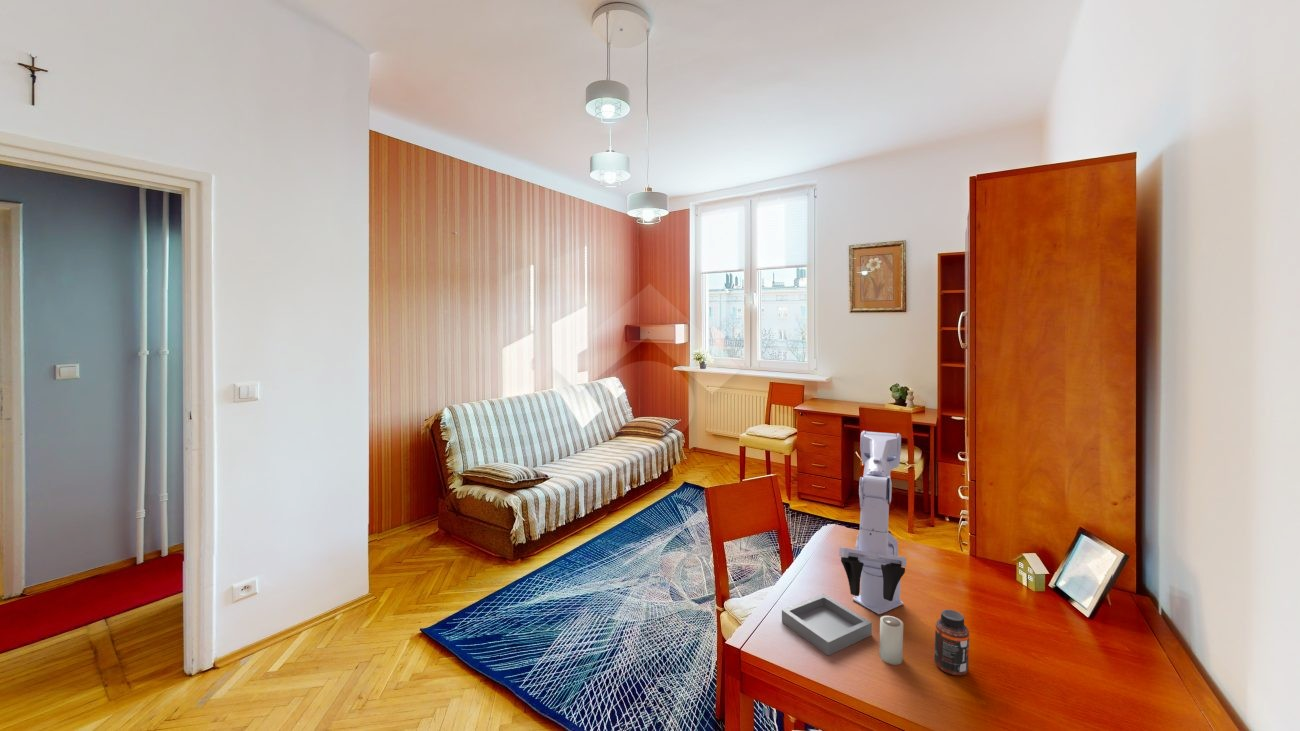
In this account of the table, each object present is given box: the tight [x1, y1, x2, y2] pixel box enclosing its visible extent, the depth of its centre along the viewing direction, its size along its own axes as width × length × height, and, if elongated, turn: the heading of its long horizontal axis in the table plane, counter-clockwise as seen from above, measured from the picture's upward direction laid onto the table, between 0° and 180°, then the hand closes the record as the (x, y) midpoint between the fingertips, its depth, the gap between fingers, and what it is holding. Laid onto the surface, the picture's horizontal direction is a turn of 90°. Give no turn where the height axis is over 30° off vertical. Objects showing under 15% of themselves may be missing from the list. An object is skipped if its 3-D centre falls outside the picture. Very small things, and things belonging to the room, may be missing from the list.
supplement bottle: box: [934, 609, 970, 676], centre depth 101 cm, size 6×6×11 cm
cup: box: [878, 615, 904, 666], centre depth 105 cm, size 4×4×8 cm
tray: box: [781, 593, 873, 656], centre depth 115 cm, size 14×14×3 cm
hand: (871, 597), depth 105 cm, fingers open, 7 cm apart
